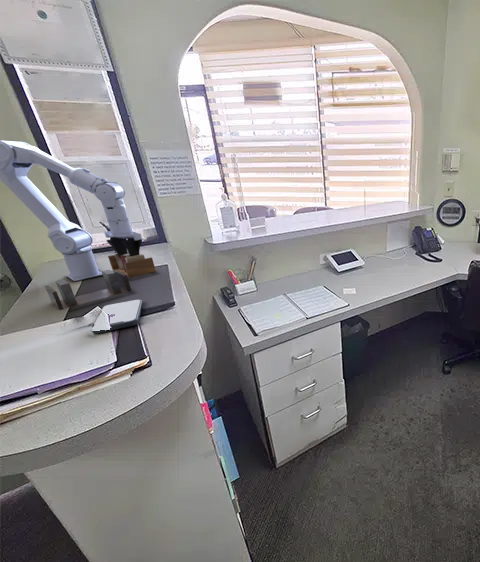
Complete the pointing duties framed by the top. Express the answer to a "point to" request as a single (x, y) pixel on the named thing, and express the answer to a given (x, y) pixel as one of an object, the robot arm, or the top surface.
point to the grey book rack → (115, 285)
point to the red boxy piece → (124, 260)
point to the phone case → (123, 314)
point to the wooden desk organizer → (132, 265)
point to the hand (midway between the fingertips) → (129, 258)
